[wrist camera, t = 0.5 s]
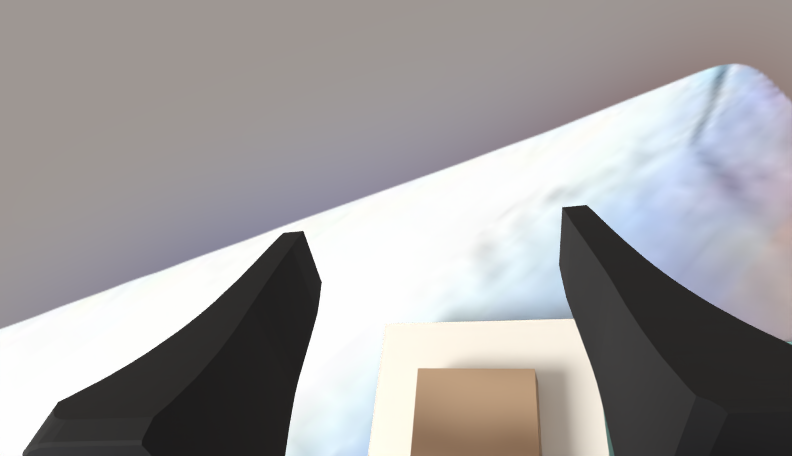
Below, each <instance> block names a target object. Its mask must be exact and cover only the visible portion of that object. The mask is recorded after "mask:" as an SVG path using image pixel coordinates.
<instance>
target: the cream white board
mask: <svg viewBox="0 0 792 456" xmlns="http://www.w3.org/2000/svg"><path fill="white" fill-rule="evenodd" d="M418 368H468V369H535V372H536V376H537V380H538V393H539V410H540V427H541V444H542V456H609V450H608V443H607V435H606V427H605V420H604V412H603V406H602V402H601V398H600V394H599V390H598V386H597V382H596V379H595V376H594V373H593V369H592V366H591V364H590V361H589V358H588V356H587V353H586V350H585V347H584V345H583V342H582V339H581V336H580V334H579V331H578V328H577V326H576V323H575V320H574V319H547V320H510V321H473V322H435V323H398V324H385V330H384V338H383V346H382V353H381V361H380V368H379V376H378V384H377V391H376V399H375V406H374V414H373V421H372V429H371V437H370V444H369V452H368V456H410V455H411V443H412V431H413V419H414V408H415V396H416V384H417V373H418Z"/></svg>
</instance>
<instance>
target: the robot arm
mask: <svg viewBox="0 0 792 456" xmlns="http://www.w3.org/2000/svg"><path fill="white" fill-rule="evenodd" d="M559 266H560V271H561V276H562V280H563V285H564V289H565V294H566V298H567V301H568V303H569V306H570V309H571V312H572V315H573V317H574V320H575V323H576V326H577V328H578V331H579V334H580V336H581V339H582V342H583V345H584V347H585V350H586V353H587V356H588V358H589V361H590V364H591V366H592V369H593V373H594V376H595V379H596V382H597V386H598V390H599V394H600V398H601V402H602V406H603V410H604V414H605V418H606V422H607V426H608V430H609V435H610V439H611V443H612V447H613V452H614V456H792V345H791V344H789V343H787V342H785V341H783V340H781V339H778V338H776V337H774V336H772V335H770V334H767V333H765V332H763V331H761V330H759V329H757V328H755V327H753V326H751V325H749V324H747V323H745V322H743V321H741V320H740V319H738V318H736V317H734V316H732V315H730V314H729V313H727V312H725V311H723V310H721V309H719V308H718V307H716V306H714V305H712V304H711V303H709V302H707V301H706V300H704V299H702V298H701V297H699V296H698V295H696V294H694V293H693V292H691V291H690V290H688V289H687V288H685V287H684V286H682V285H680V284H679V283H677V282H676V281H675V280H673V279H672V278H670V277H669V276H667V275H666V274H665V273H663V272H662V271H661V270H659V269H658V268H657V267H655V266H654V265H653V264H652V263H650V262H649V261H648V260H647V259H645V258H644V257H643V256H642V255H641V254H639V253H638V252H637V251H636V250H635V249H634V248H632V247H631V246H630V245H629V244H628V243H627V242H625V241H624V240H623V239H622V238H621V237H620V236H619V235H618V234H617V233H616V232H614V231H613V230H612V229H611V228H610V227H609V226H608V225H607V224H606V223H605V222H604V221H603V220H602V219H601V218H600V217H599V216H598V215H597V214H596V213H595V212H594V211H593V210H591V209H590V208H589V207H588V206H587V205H583V206H572V207H562V224H561V241H560V259H559ZM321 283H322V282H321V279H320V277H319V274H318V271H317V268H316V265H315V263H314V260H313V257H312V254H311V251H310V249H309V246H308V243H307V240H306V237H305V235H304V232H303V231H299V232H289V233H283V234H282V235H281V236H280V237H279V238H278V239H277V240H276V241H275V242H274V243H273V244H272V245H271V246H270V247H269V248H268V249H267V250H266V251H265V252H264V253H263V254H262V255H261V256H260V257H259V258H258V260H257V261H256V262H255V263H254V264H253V265H252V266H251V267H250V268H249V269H248V270H247V271H246V272H245V273H244V274H243V275H242V276H241V277H240V278H239V279H238V280H237V281H236V282H235V283H234V284H233V285H232V286H231V287H230V288H229V289H228V290H226V291H225V292H224V293H223V294H222V295H221V296H220V297H219V298H218V299H217V300H216V301H215V302H214V303H213V304H211V305H210V306H209V307H208V308H207V309H206V310H205V311H203V312H202V313H201V314H200V315H199V316H197V317H196V318H195V319H194V320H192V321H191V322H190V323H188V324H187V325H186V326H185V327H183V328H182V329H181V330H179V331H178V332H177V333H175V334H174V335H172V336H171V337H169V338H168V339H167V340H165V341H164V342H162V343H161V344H159V345H158V346H157V347H155V348H154V349H152V350H151V351H149V352H148V353H146V354H145V355H143V356H142V357H140V358H138V359H137V360H135V361H134V362H132V363H130V364H129V365H127V366H125V367H124V368H122V369H120V370H118V371H117V372H115V373H113V374H112V375H110V376H108V377H106V378H104V379H103V380H101V381H99V382H97V383H95V384H93V385H91V386H89V387H87V388H85V389H83V390H81V391H79V392H77V393H75V394H74V395H72V396H70V397H68V398H66V399H64V400H61V401H59V402H58V403H57V405H56V406H55V408H54V409H53V410H52V412H51V413H50V415H49V416H48V418H47V419H46V420H45V422H44V423H43V425H42V426H41V428H40V429H39V430H38V432H37V433H36V435H35V436H34V438H33V439H32V440H31V442H30V443H29V445H28V446H27V448H26V449H25V450H24V452H23V456H285V452H286V445H287V439H288V432H289V425H290V420H291V414H292V408H293V402H294V397H295V392H296V388H297V384H298V380H299V376H300V373H301V369H302V366H303V362H304V359H305V355H306V352H307V348H308V345H309V342H310V338H311V335H312V331H313V327H314V324H315V320H316V316H317V312H318V306H319V299H320V291H321Z"/></svg>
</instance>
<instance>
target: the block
mask: <svg viewBox="0 0 792 456" xmlns="http://www.w3.org/2000/svg"><path fill="white" fill-rule="evenodd" d="M410 456H542V444H541V427H540V410H539V393H538V380H537V376H536V372H535V369H468V368H418V373H417V384H416V396H415V408H414V419H413V431H412V443H411V455H410Z"/></svg>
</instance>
